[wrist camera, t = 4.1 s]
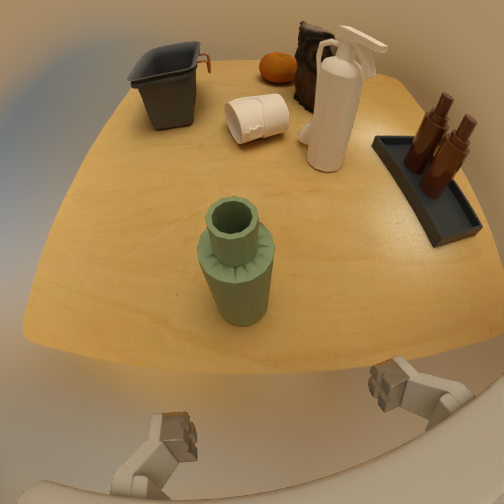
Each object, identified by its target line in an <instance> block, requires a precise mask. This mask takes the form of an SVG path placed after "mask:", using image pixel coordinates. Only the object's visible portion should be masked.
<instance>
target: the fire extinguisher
mask: <svg viewBox="0 0 504 504" xmlns="http://www.w3.org/2000/svg"><path fill="white" fill-rule="evenodd" d="M336 36H338V37H341V41H337V40H334V39H328V40H324V41H321V42H320V44H319V48H318V51H317V55H316V61H317V82H316V95H315V106H314V114H313V117H312V119H311V122H310V123H306V125H305V126H304V127H303V128H302V130H301V131H300V132H299V133H298V136H299V142H302V143H304V144H307V145H308V151H307V162H308V163H309V164H311V165H312V166H313V167H314V168H315V169H318V170H321V171H324V172H332V171H337V170H338V169H339V168H340V167H341V166H342V163H343V160H344V156H345V153H346V149H347V146H348V142H349V139H350V135H351V131H352V127H353V124H354V120H355V116H356V112H357V108H358V104H359V100H360V96H361V92H362V87H363V83H364V79H367V78H373V77H376V65H375V63H374V61H373V58H372V55H371V53H370V51H369V50H368V49H367V48H369V49H372V50H374V51H376V52H379V53H387V49H388V46H386V45H385V44H383V43H381V42H379V41H377V40H376V39H374V38H372V37H370V36H368V35H366V34H364V33H362V32H360V31H358V30H356V29H354V28H352V27H350V26H339V28H338V30H337V32H336ZM328 45H334V46H337V47H338V49H337V52H336V56H333V57H328V58H325V59H324V60H323V62H322V63H321V56H322V52H323V48H324V46H328ZM354 49H355V51H356V52H357V55H358V57H359V59H360V62H361V64H362V67H361V65H359V64H358V63H357V62H355V61H354Z"/></svg>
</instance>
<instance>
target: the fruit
mask: <svg viewBox="0 0 504 504" xmlns="http://www.w3.org/2000/svg"><path fill="white" fill-rule="evenodd" d="M259 69H260V73H261V75H262V76H263V77H264V78H265V79H266V80H268V81H271V82H275V83H285V82H289V81H292V80H294V78H295V72H296V69H297V62H296V59H295V58H294V57H292V56H291V55H289V54H286V53H277V52H276V53H270V54H267V55H265V56H264V57H263V58H262V60H261V62H260V65H259Z"/></svg>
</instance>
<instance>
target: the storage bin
mask: <svg viewBox="0 0 504 504" xmlns="http://www.w3.org/2000/svg"><path fill="white" fill-rule="evenodd" d="M199 53H200V42H195V41H193V42H185V43H178V44H173V45H167V46H163V47H158V48H155V49H152V50H150V51H148V52H146V53H145V54H144V55H143V56H142V57H141V59H140V60H139V61H138V63H137V64H136V65H135V67H134V68H133V70H132V71H131V73H130V74H129V76H128V77H127V79H128V80H129V81H131V87H132V88H135V89H138V90H139V92H140V95H141V97H142V99H143V102H144V105H145V107H146V110H147V112H148V115H149V118H150V120H151V123H152V125H153V128H154V129H157V130H158V129H165V128H171V127H177V126H183V125H188V124H191V123H192V122H193V118H194V106H195V97H196V68H197V63H201V62H206V63H207V67H208V72H209V73H211V64H210V57H209V55H208V54H199ZM201 55H206V56H207V58H208V61H206V60H203V61H197V58H198V56H201Z"/></svg>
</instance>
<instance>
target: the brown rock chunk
mask: <svg viewBox="0 0 504 504" xmlns="http://www.w3.org/2000/svg"><path fill="white" fill-rule="evenodd" d="M300 24H301V26H300V27H299V30H300V32H299V36H298V41H299V42H298V48H297V51H296V54H295V59H296V62H297V69H296V72H295V78H294V84H295V90H296V92H295V94H294V99H295V100H297V101H299V102H300V103H299V104H300V105H302V106H304V107H305V110H308V111H310V112H311V113H314V106H315V95H316V82H317V61H316V55H317V51H318V48H319V44H320V42H321V41H324V40H328V39H334V40H336V39H335V37H334V35H333V34H332V33H330V32H329V31H327V30H325V29H323V28H321V27H318V26H313V25H310V24H308V23H306V22H305V21H302V22H301V23H300ZM337 49H338V47H337V46H334V45H328V46H324V48H323V52H322V56H321V63H322V62H323V60H324V59H325V58H328V57H333V56H336V52H337Z"/></svg>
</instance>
